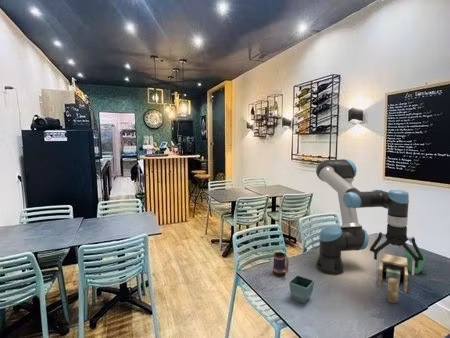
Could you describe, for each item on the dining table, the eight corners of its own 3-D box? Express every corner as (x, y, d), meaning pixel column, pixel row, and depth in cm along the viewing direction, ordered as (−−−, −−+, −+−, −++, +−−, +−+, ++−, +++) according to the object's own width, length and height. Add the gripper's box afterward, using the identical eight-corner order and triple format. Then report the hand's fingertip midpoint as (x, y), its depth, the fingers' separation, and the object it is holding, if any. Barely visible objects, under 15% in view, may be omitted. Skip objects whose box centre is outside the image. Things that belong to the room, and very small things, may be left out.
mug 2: (428, 276, 143) (429, 259, 142) (408, 275, 145) (409, 257, 144) (414, 264, 158) (415, 247, 157) (396, 262, 160) (397, 246, 158)
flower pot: (296, 291, 131) (296, 274, 130) (314, 298, 125) (314, 280, 124) (288, 300, 124) (288, 282, 123) (306, 307, 119) (307, 288, 118)
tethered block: (384, 300, 123) (385, 280, 122) (386, 276, 144) (387, 259, 143) (399, 304, 120) (401, 283, 118) (399, 279, 140) (400, 261, 139)
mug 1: (270, 272, 150) (270, 252, 148) (280, 269, 153) (280, 249, 151) (281, 281, 141) (282, 259, 139) (292, 278, 144) (292, 256, 142)
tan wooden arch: (378, 285, 135) (379, 267, 134) (380, 269, 151) (381, 253, 150) (406, 292, 129) (408, 273, 128) (405, 275, 145) (406, 257, 144)
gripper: (364, 222, 122) (363, 266, 124) (433, 231, 109) (429, 281, 111) (366, 218, 129) (364, 260, 131) (431, 226, 115) (428, 273, 117)
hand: (394, 270), depth 121 cm, fingers open, 13 cm apart
